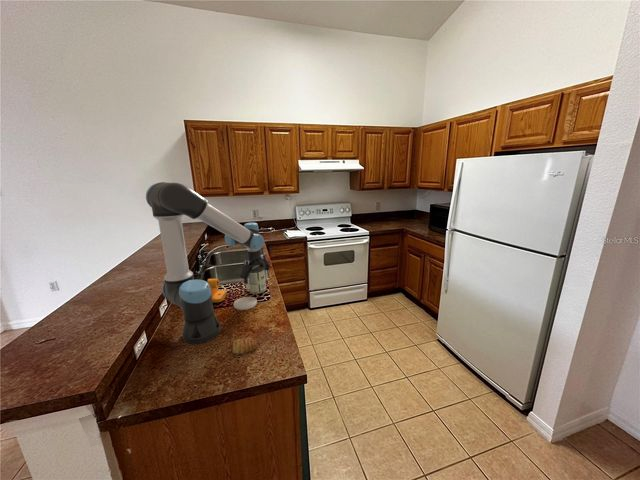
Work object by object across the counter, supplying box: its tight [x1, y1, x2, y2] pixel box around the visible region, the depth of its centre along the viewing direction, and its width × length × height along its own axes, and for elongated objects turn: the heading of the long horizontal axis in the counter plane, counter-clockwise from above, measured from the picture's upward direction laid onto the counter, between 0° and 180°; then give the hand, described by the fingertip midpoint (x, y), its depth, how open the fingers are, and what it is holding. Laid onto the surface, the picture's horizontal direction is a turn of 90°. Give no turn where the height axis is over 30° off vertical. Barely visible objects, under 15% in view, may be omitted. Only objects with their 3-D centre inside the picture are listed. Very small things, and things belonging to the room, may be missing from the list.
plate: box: [233, 296, 258, 311], centre depth 137 cm, size 12×12×1 cm
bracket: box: [206, 278, 228, 303], centre depth 143 cm, size 11×7×12 cm, turn 2°
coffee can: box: [248, 264, 267, 295], centre depth 152 cm, size 10×10×14 cm
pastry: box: [232, 337, 258, 355], centre depth 103 cm, size 9×7×4 cm
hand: (257, 284), depth 153 cm, fingers open, 13 cm apart
